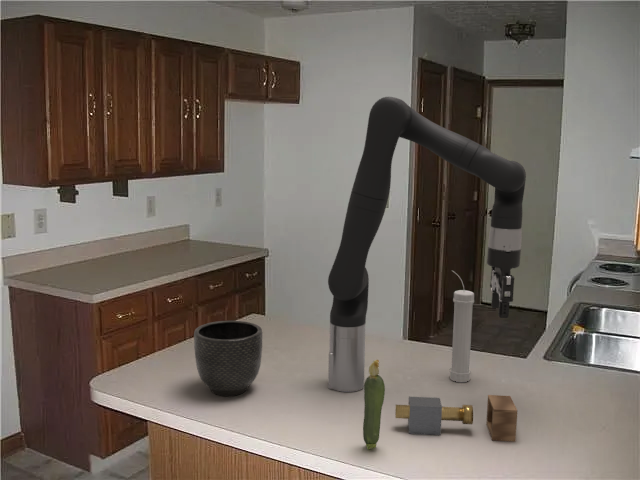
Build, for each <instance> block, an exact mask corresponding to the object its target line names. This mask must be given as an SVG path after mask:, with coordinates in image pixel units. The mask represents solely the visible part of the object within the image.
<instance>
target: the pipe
mask: <svg viewBox="0 0 640 480" xmlns="http://www.w3.org/2000/svg"><path fill="white" fill-rule="evenodd" d="M452 272H453V273H454V274H455V275H456V276H458V279H459V280H460V281H461V284H462V287H463V289H459V290H455V291H454V292H453V298H452V302H453V303H454V304H453V306H454V308H453V310H454V311H453V312H454V313H453V327H452V328H453V329H452V330H453V332H452V348H451V351H452V352H451V367H450V369H449V378H450V380H451V381H453V382H455V381H456V382H455V383H467V381H468V382H469V381H470V380H471V373H472V372H471V369H470V361H471V360H470V359H471V345H472V344H471V342H472V327H473V326H472V324H473V323H472V321H473V305H474V303H475V293H474V292H473V291H470V290H466V289H465V285H464V283H463V280H462V278H461V276H460V275H459V274H458V273H456V271H454V270H452Z"/></svg>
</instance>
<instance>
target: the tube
mask: <svg viewBox="0 0 640 480" xmlns="http://www.w3.org/2000/svg"><path fill="white" fill-rule="evenodd" d="M394 408H395V410H394V414H395V415H394V417H395V419H401V420H402V419H406V420H408V419H409V413H410V406H409V404H395V407H394ZM441 421H447V422H448V421H449V422H452V421H453V422H461V423H462V425H473V424H474V406H473V405H472V404H462V405H461V407H460V406H458V407H457V406H442V418H441Z"/></svg>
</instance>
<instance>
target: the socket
mask: <svg viewBox="0 0 640 480" xmlns="http://www.w3.org/2000/svg"><path fill="white" fill-rule="evenodd" d="M486 407H487V409H486V421H485V422H486V424H485V425H486V428H487V430H488V433H489V435H490V439H491V441H493V442H494V441H496V442H497V441H498V442H515V443H516V441H517V440H516V437H517V424H518V423H517V421H518V409H517V407H516V405H515V403H514V400H513V398H512V396H510V395H501V394H500V395H497V394H496V395H495V394H488V395H487V406H486Z"/></svg>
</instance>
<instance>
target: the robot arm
mask: <svg viewBox="0 0 640 480" xmlns="http://www.w3.org/2000/svg"><path fill="white" fill-rule="evenodd" d="M365 135H366V136H365V142H364V147H363V150H362V151H363V152H362V155H361V159H360V161H359V164H358V167H357V172H356V174H355V179H354V181H353V186H352V188H351V192H350V196H349V200H348V204H347V209H346V213H345V219H344V223H343V228H342V234H341V240H340V243H339V248H338V250H337V253H336V256H335V259H334V261H333V265H332V267H331V269H330V271H329V274H328V277H327V283H328V289H329V291H330V293H331V294H332V296H333V298H332V304H331V308H330V314H329V351H328V377H327V378H328V379H327V380H328V383H327V384H328V386H327V388H328V389H329V390H334V391H338V392H343V393H344V392H345V393H346V392H347V393H352V392H358V391H361V390H362V389H364V383H365V367H366V364H365V363H366V360H365V358H366V357H365V356H366V322H367V321H366V319H367V312H368V305H369V303H368V301H369V285H370V284H369V281H370V280H369V272H368V270H367V268H366V265H367V260H368V259H367V258H368V254H369V252H370V248H371V246H372V244H373V242H374V239H375V237H376V235H377V234H378V231H379V228H380V226H381V223H382V221H383V217H384V215H385V212H386V209H387V205H388V201H389V198H390V192H391V190H390V189H391V183H392V182H391V180H392V163H393V158H394V153H395V150H396V147H397V145H398V142H399V141H398V140H399V138H401V139H405V140H407V141H410V142H413V143H415V144H417V145H419V146H421V147H423V148H426V149H428V150H429V151H430V152H432V153H433V154H435V155H436V156H438V157H439V158H441V159H442V160H444V161H445V162H447V163H450V164H451V165H453V166H454V167H457V168H458V169H461V170H463V171H464V172H467V173H469V174H470V175H473V176H476V177H478V178H479V179H480V180H482V181H483V182H485V183H487V184H488V185H490V186H491V187H493V188H494V201H493V202H494V203H493V205H492V208H491V217H490V229H489V234H488V242H487V243H488V244H487V257H486V259H487V260H486V264H487V265H488V266H490V267H491V272H490V282H489V288H491V289H490V290H491V293H492V294H491V305H490V306H491V307H492V308H493V309H498V317H499V318H500V319H507V318H509V315H510V313H509V312H510V303H512V302H513V301H514V289H515V288H514V286H515V276H514V275H512V274H511V270H512V269H517V268H519V267H520V263H521V254H522V253H521V252H522V251H521V250H522V241H523V238H522V237H523V236H522V234H523V233H522V228H523V227H522V225H523V200H524V195H525V189H526V188H525V186H526V181H527V179H526V178H527V172H526V169H525V168H524V166H523V164H521V163H520V162H518V161H515V160H508V159H507V158H505V157H502V156H501V155H498V154H496V153H493V152H492V151H491V150H490V149H488V148H487V147H486V146H484V145H482V144H480V143H478V142H476V141H474V140H472V139H471V138H467V136H463V135H461V134H459V133H457V132H454V131H452V130H449V129H448V128H445V127H443V126H441V125H439V124H437V123H435V122H433V121H432V120H430V119H429V118H426V117H425V116H423V115H422V114H420V113H419V112H418V111H416V110H415V109H414V108H412V107H411V106H410V105H408V104H407V103H406V102H405V101H404V100H403V99H400V98H397V97H393V96H384V97H381V98H379V99H377V100H376V101H375V102H374V103H373V104H372V107H371V108H370V110H369V116H368V121H367V127H366V134H365Z"/></svg>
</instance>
